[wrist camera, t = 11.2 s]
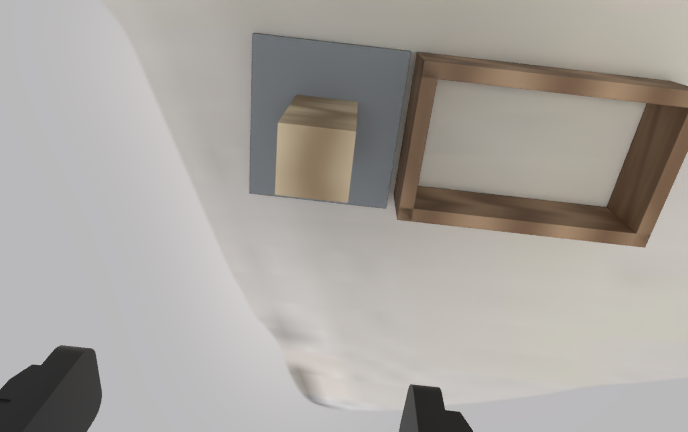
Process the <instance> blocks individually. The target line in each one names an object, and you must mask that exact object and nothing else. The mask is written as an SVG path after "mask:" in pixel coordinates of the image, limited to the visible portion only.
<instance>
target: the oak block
mask: <svg viewBox="0 0 688 432" xmlns="http://www.w3.org/2000/svg"><path fill="white" fill-rule="evenodd" d="M357 110H358V101H349V100H340V99H331V98H322V97H313V96H304V95H296V96H295V97H294V99H293V100H292V102H291V103H290V105H289V106H288V108H287V109H286V111H285V113H284V114H283V116H282V117H281V119H280V120H279V122H278V130H277V155H276V179H275V195H280V196H290V197H299V198H308V199H317V200H326V201H335V202H344V203H348V198H349V189H350V181H351V172H352V164H353V155H354V146H355V138H356V127H357Z"/></svg>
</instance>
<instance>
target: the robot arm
mask: <svg viewBox="0 0 688 432" xmlns="http://www.w3.org/2000/svg"><path fill="white" fill-rule="evenodd" d="M101 398H102V390H101V384H100V378H99V372H98V366H97V359H96V354H95V351H94V350H93V349H91V348H81V347H71V346H63V345H62V346H59V347H57V348H56V349H55V350H54V351H53V352H52V353H51V354H50V355H49V357H48V358H47V359H46V360H45V361H44V362H43V364H42V365H31V366H30V367H28V368H27V369H25V370H23V371H22V372H20V373H19V374H17V375H16V376H14V377H13V378H11V379H10V380H9V381H8V382H7V383H6V384H5V385H4V386H3V387H2V388H1V390H0V432H87V430H88V429H89V427H90V426H91V424H92V422H93V421H94V419H95V417H96V415H97V413H98V410H99V408H100V404H101ZM399 432H473V430H472V429H471V427H470V426H469V424H468V423H467V422H466V420H465V419H464V417H463V416H462V414H461V413H460V412H455V411H447V410H445V408H444V402H443V397H442V392H441V389H440V388H439V387H430V386H421V385H412V384H411V385H410V386H409V389H408V393H407V397H406V402H405V406H404V410H403V415H402V419H401V424H400V429H399Z"/></svg>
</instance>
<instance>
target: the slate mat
mask: <svg viewBox="0 0 688 432" xmlns="http://www.w3.org/2000/svg"><path fill="white" fill-rule="evenodd" d="M410 55H411V51H406V50H397V49H388V48H380V47H371V46H362V45H354V44H345V43H336V42H328V41H319V40H310V39H302V38H293V37H284V36H276V35H267V34H259V33H253V34H252V81H251V136H250V191H249V193H251V194H260V195H268V196H277V197H286V198H295V199H304V200H313V201H322V202H331V203H340V204H349V205H358V206H367V207H375V208H384V209H386V206H387V200H388V194H389V187H390V181H391V175H392V168H393V162H394V156H395V150H396V143H397V137H398V131H399V124H400V118H401V112H402V106H403V99H404V93H405V87H406V81H407V74H408V68H409V62H410ZM296 95H304V96H313V97H322V98H331V99H340V100H349V101H358V110H357V127H356V138H355V146H354V155H353V164H352V172H351V181H350V189H349V198H348V203H344V202H335V201H326V200H317V199H308V198H299V197H290V196H280V195H275V179H276V155H277V130H278V122H279V120H280V119H281V117H282V116H283V114H284V113H285V111H286V109H287V108H288V106H289V105H290V103H291V102H292V100H293V99H294V97H295V96H296Z"/></svg>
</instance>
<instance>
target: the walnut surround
mask: <svg viewBox="0 0 688 432" xmlns="http://www.w3.org/2000/svg"><path fill="white" fill-rule="evenodd" d="M438 79H442V80H451V81H460V82H468V83H477V84H486V85H494V86H503V87H512V88H521V89H529V90H538V91H547V92H555V93H564V94H573V95H581V96H590V97H599V98H607V99H616V100H625V101H634V102H642V103H647V105H646V108H645V110H644V113H643V116H642V118H641V121H640V123H639V126H638V129H637V131H636V134H635V136H634V139H633V141H632V144H631V147H630V149H629V152H628V154H627V157H626V160H625V162H624V165H623V167H622V170H621V173H620V175H619V178H618V180H617V183H616V185H615V188H614V191H613V193H612V196H611V198H610V201H609V204H608V206H607V207H599V206H590V205H581V204H573V203H564V202H555V201H546V200H537V199H528V198H519V197H510V196H502V195H493V194H484V193H475V192H466V191H457V190H448V189H439V188H431V187H422V186H418V182H419V176H420V171H421V166H422V160H423V155H424V150H425V144H426V139H427V134H428V128H429V123H430V118H431V112H432V107H433V102H434V96H435V91H436V86H437V80H438ZM687 152H688V86H685V85H682V84H678V83H675V82H672V81H665V80H656V79H648V78H639V77H631V76H622V75H613V74H605V73H596V72H587V71H579V70H570V69H561V68H553V67H544V66H535V65H527V64H518V63H509V62H501V61H492V60H483V59H475V58H466V57H457V56H449V55H440V54H432V53H423V52H417V57H416V63H415V69H414V75H413V81H412V87H411V93H410V99H409V106H408V112H407V118H406V124H405V130H404V136H403V142H402V148H401V154H400V160H399V166H398V172H397V178H396V184H395V190H394V200H395V207H396V214H397V220H404V221H413V222H422V223H431V224H440V225H449V226H458V227H467V228H476V229H485V230H493V231H502V232H511V233H520V234H529V235H538V236H547V237H556V238H565V239H574V240H583V241H592V242H601V243H610V244H618V245H627V246H636V247H645V246H646V244H647V242H648V239H649V237H650V235H651V233H652V230H653V228H654V226H655V224H656V221H657V219H658V217H659V215H660V212H661V210H662V208H663V206H664V203H665V201H666V199H667V197H668V194H669V192H670V190H671V188H672V185H673V183H674V181H675V179H676V176H677V174H678V172H679V170H680V167H681V165H682V163H683V161H684V158H685V156H686V154H687Z"/></svg>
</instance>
